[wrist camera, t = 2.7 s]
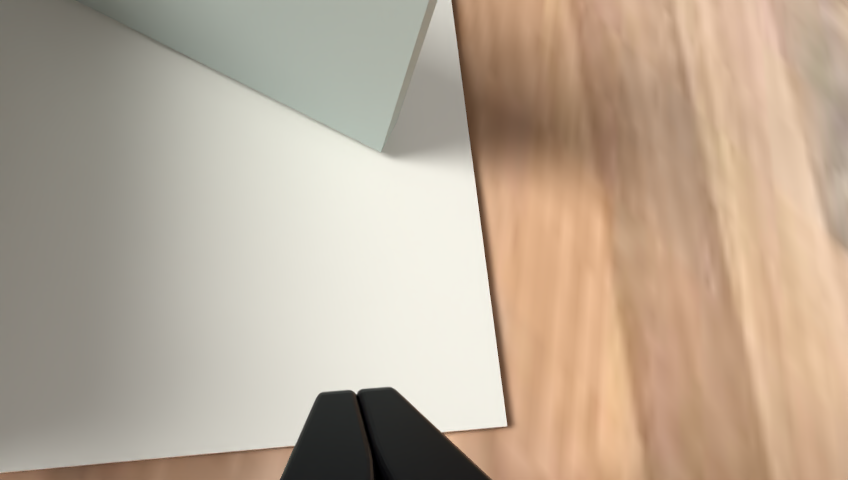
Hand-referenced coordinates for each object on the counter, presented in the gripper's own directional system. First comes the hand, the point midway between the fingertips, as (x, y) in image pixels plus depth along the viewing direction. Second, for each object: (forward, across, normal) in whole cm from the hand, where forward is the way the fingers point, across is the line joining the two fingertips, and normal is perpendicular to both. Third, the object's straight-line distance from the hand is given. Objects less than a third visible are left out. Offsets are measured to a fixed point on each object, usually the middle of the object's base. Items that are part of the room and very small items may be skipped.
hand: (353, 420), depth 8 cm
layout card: (+16, +4, +3) cm, 17 cm away
